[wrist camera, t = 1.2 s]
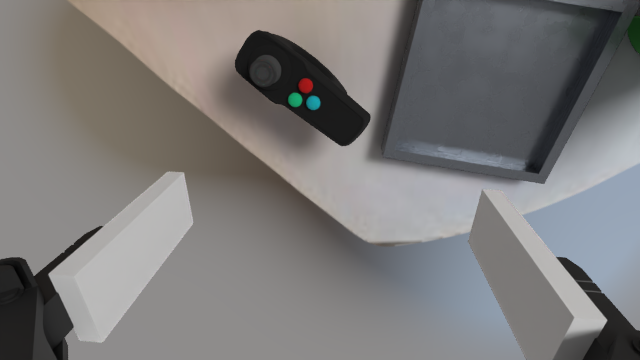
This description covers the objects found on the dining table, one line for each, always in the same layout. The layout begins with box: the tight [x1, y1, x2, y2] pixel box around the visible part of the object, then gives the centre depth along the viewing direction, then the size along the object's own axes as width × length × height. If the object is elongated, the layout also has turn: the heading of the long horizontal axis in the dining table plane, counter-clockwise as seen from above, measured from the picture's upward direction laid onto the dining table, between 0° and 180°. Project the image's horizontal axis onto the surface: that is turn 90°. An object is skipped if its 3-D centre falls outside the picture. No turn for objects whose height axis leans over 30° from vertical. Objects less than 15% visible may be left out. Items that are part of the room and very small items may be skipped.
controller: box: [235, 30, 371, 146], centre depth 30 cm, size 4×12×10 cm, turn 53°
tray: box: [381, 0, 640, 184], centre depth 32 cm, size 17×17×2 cm
